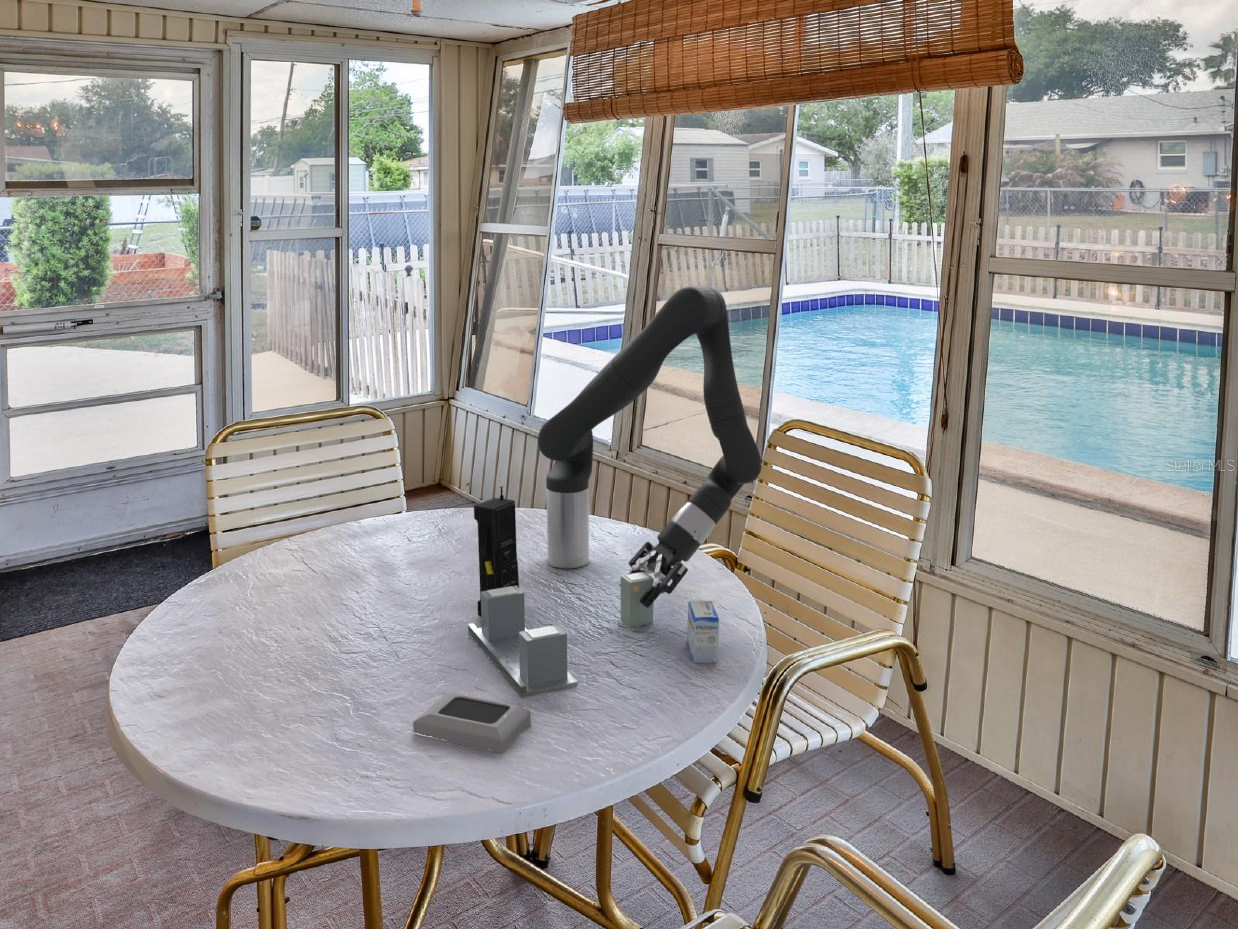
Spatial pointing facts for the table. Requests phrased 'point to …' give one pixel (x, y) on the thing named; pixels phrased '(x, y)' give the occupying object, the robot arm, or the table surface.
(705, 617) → the medicine box
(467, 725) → the grey flat block
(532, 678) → the mounted modules
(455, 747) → the table surface
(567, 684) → the rail
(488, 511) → the portable radio
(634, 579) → the block
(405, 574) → the table surface
